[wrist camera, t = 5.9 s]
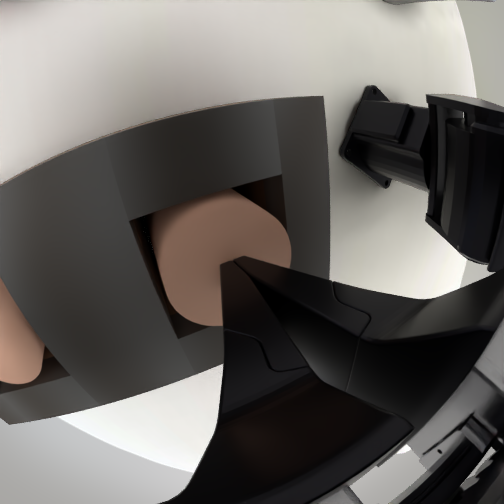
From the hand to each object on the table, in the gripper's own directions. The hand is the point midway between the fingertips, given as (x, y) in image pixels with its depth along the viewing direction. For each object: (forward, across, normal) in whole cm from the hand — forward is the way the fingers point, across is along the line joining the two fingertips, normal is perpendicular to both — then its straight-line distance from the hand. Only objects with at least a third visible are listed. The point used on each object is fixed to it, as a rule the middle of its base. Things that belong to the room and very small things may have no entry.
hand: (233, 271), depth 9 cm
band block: (+8, +5, 0) cm, 9 cm away
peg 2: (+7, 0, 0) cm, 7 cm away
